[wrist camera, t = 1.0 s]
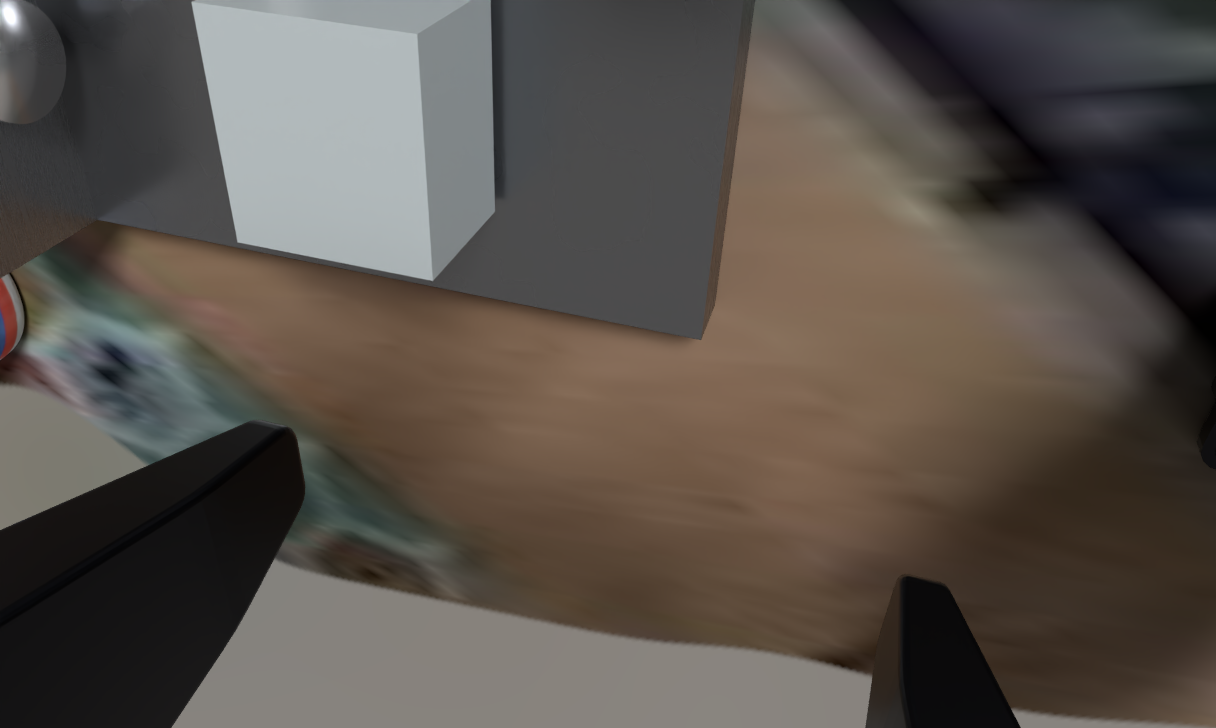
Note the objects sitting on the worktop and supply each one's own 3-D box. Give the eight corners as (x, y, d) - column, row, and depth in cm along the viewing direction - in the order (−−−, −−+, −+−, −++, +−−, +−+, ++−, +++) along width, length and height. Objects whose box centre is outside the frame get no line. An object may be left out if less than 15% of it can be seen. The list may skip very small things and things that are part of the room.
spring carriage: (486, -199, 16) (403, -180, 13) (494, 211, 20) (432, 280, 18) (266, -218, 16) (151, -204, 14) (319, 180, 21) (237, 242, 18)
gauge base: (783, -213, 16) (726, -185, 12) (714, 305, 22) (662, 439, 18) (-63, -281, 19) (-323, -276, 15) (71, 182, 25) (-93, 272, 21)
